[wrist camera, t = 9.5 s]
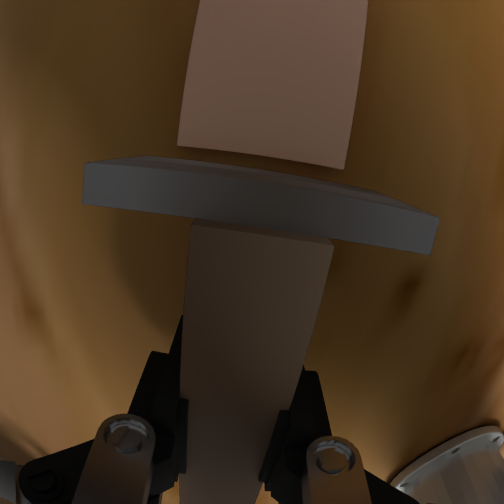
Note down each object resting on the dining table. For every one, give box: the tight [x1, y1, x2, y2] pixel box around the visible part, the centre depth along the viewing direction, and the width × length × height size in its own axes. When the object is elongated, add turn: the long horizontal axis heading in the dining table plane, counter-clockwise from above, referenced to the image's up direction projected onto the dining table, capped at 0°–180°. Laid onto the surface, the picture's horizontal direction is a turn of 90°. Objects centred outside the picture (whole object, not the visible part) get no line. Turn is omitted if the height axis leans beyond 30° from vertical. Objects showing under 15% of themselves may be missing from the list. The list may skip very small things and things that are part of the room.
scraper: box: [82, 156, 440, 504], centre depth 9 cm, size 7×12×4 cm, turn 171°
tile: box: [177, 0, 368, 170], centre depth 10 cm, size 6×2×8 cm
